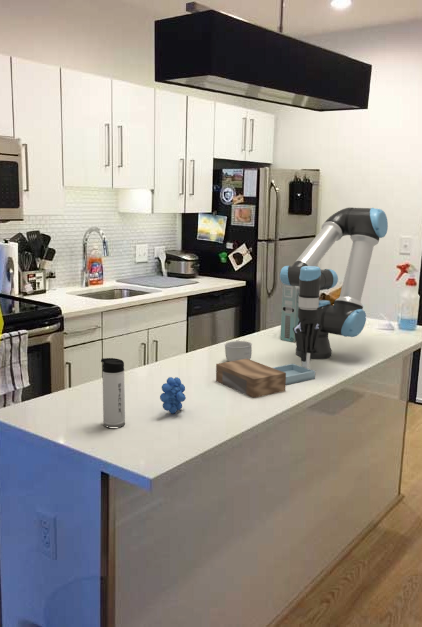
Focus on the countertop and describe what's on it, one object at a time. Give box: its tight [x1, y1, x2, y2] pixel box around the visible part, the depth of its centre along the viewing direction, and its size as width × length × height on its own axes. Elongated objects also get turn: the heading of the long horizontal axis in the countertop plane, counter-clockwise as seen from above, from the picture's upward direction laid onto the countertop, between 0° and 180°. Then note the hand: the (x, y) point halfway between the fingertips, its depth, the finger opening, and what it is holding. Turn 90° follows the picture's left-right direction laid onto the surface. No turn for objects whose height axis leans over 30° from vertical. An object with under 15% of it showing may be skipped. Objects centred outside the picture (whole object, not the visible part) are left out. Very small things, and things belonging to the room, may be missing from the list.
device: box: [279, 282, 300, 343], centre depth 291 cm, size 16×8×30 cm, turn 140°
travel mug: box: [100, 357, 126, 428], centre depth 181 cm, size 6×7×20 cm
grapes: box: [159, 376, 187, 414], centre depth 191 cm, size 12×7×12 cm, turn 146°
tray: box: [271, 363, 316, 386], centre depth 230 cm, size 20×12×3 cm, turn 125°
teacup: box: [224, 339, 253, 362], centre depth 252 cm, size 14×11×8 cm
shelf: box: [215, 359, 287, 399], centre depth 221 cm, size 14×22×6 cm, turn 35°
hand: (305, 369), depth 236 cm, fingers closed
